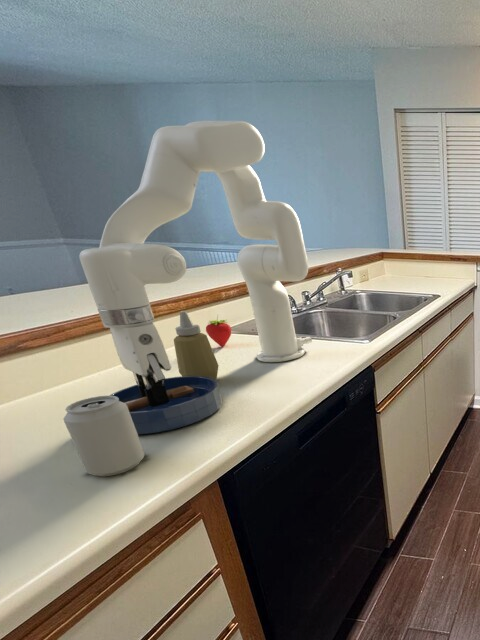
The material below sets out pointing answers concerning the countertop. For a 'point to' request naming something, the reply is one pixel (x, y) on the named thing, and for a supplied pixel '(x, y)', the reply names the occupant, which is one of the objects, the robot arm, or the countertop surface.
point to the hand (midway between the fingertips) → (156, 402)
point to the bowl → (175, 405)
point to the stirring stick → (171, 394)
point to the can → (104, 435)
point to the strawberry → (219, 331)
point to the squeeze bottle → (194, 350)
